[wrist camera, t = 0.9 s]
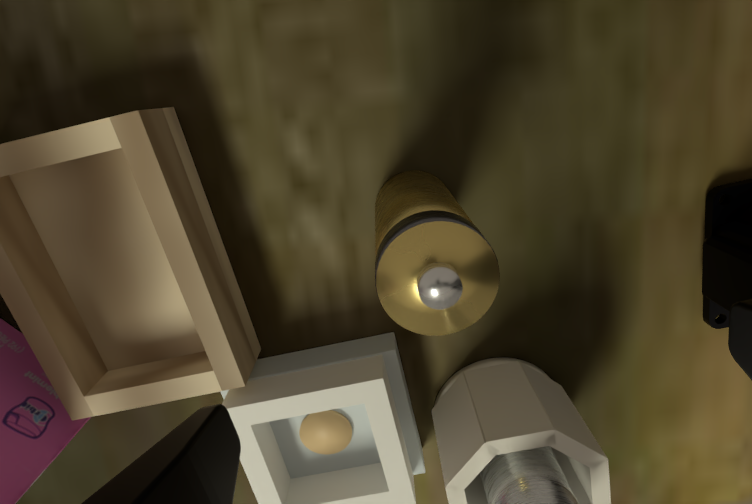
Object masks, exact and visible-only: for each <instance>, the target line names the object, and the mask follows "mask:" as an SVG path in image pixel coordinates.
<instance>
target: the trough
mask: <svg viewBox="0 0 752 504" xmlns="http://www.w3.org/2000/svg"><path fill="white" fill-rule="evenodd" d="M0 294H1V296H2V298H3V299H4V301H5V303H6V305H7V306H8V308H9V310H10V312H11V314H12V315H13V317H14V319H15V321H16V322H17V324H18V326H19V328H20V329H21V331H22V333H23V335H24V337H25V338H26V340H27V342H28V344H29V345H30V347H31V349H32V351H33V352H34V354H35V356H36V358H37V360H38V361H39V363H40V365H41V367H42V368H43V370H44V372H45V374H46V375H47V377H48V379H49V381H50V383H51V384H52V386H53V388H54V390H55V391H56V393H57V395H58V397H59V399H60V400H61V402H62V404H63V406H64V407H65V409H66V411H67V413H68V414H69V416H70V418H71V420H72V421H73V420H78V419H83V418H88V417H93V416H98V415H103V414H108V413H113V412H118V411H123V410H128V409H133V408H139V407H144V406H149V405H154V404H159V403H164V402H169V401H174V400H179V399H184V398H189V397H194V396H199V395H204V394H209V393H214V392H219V391H225V390H230V389H235V388H240V387H245V386H246V384H247V381H248V379H249V377H250V374H251V372H252V370H253V367H254V365H255V363H256V360H257V358H258V356H259V353H260V351H261V347H260V344H259V341H258V338H257V335H256V333H255V330H254V327H253V324H252V322H251V319H250V316H249V313H248V311H247V308H246V305H245V302H244V300H243V297H242V294H241V291H240V289H239V286H238V283H237V280H236V278H235V275H234V272H233V269H232V267H231V264H230V261H229V258H228V255H227V253H226V250H225V247H224V244H223V242H222V239H221V236H220V233H219V231H218V228H217V225H216V222H215V220H214V217H213V214H212V211H211V209H210V206H209V203H208V200H207V198H206V195H205V192H204V189H203V186H202V184H201V181H200V178H199V175H198V173H197V170H196V167H195V164H194V162H193V159H192V156H191V153H190V151H189V148H188V145H187V142H186V140H185V137H184V134H183V131H182V129H181V126H180V123H179V120H178V118H177V115H176V112H175V109H174V107H168V108H157V109H146V110H137V111H133V112H129V113H125V114H121V115H116V116H112V117H108V118H104V119H100V120H96V121H92V122H88V123H84V124H80V125H76V126H72V127H68V128H64V129H60V130H56V131H52V132H48V133H44V134H40V135H35V136H31V137H27V138H23V139H19V140H15V141H11V142H7V143H3V144H0Z"/></svg>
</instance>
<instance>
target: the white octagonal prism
mask: <svg viewBox="0 0 752 504" xmlns="http://www.w3.org/2000/svg"><path fill="white" fill-rule="evenodd" d="M432 417H433V423H434V428H435V434H436V439H437V445H438V450H439V456H440V461H441V467H442V472H443V478H444V483H445V489H446V493H447V497H448V502H449V504H488V502H487V498H486V494H485V491H484V487H483V483H482V480H481V476H480V472H481V471H482V470H483V469H484V467H485V466H486V465H487V464H488V463H489V462H490V461H491V460H492V459H493V458H494V456H495V455H500V454H505V453H511V452H516V451H522V450H528V449H533V448H539V447H544V446H550V447H551V449H552V451H553V453H554V455H555V457H556V459H557V461H558V463H559V465H560V467H561V469H562V471H563V473H564V476H565V478H566V480H567V482H568V484H569V486H570V488H571V490H572V492H573V494H574V496H575V498H576V500H577V502H578V504H611V497H610V482H609V466H608V458H607V457H606V455H605V454H604V452H603V450H602V449H601V447H600V446H599V444H598V443H597V441H596V439H595V438H594V436H593V435H592V433H591V432H590V430H589V428H588V427H587V425H586V424H585V422H584V420H583V419H582V417H581V416H580V414H579V413H578V411H577V409H576V408H575V406H574V405H573V403H572V402H571V400H570V398H569V397H568V395H567V394H566V392H565V391H564V389H563V387H562V386H561V385H560V384H558V383H556V382H554V381H553V380H551V379H550V377H549V376H548V375H547V374H546V373H545V372H544V371H543V370H541V369H540V368H538V367H537V366H535V365H533V364H531V363H529V362H526V361H523V360H520V359H515V358H506V357H501V358H490V359H485V360H481V361H478V362H475V363H472V364H470V365H468V366H466V367H464V368H462V369H461V370H459V371H458V372H456V373H455V374H454V375H453V376H452V377H450V378H449V380H448V381H447V382H446V383H445V384H444V385H443V387H442V388H441V390H440V392H439V394H438V395H437V398H436V401H435V405H434V408H433V409H432Z"/></svg>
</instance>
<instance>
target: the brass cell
mask: <svg viewBox="0 0 752 504" xmlns="http://www.w3.org/2000/svg"><path fill="white" fill-rule="evenodd" d="M375 237H376V262H375V281H376V291H377V295H378V298H379V300H380V302H381V304H382V306H383V308H384V310H385V311H386V313H387V314H388V315H389V316H390V317H391V318H392V319H393V320H394V321H395V322H396V323H397V324H399V325H400V326H402V327H403V328H405V329H407V330H409V331H412V332H415V333H418V334H423V335H431V336H440V335H447V334H452V333H455V332H458V331H461V330H463V329H465V328H467V327H469V326H471V325H472V324H474V323H475V322H476V321H478V320H479V319H480V318H481V317H482V316H483V315H484V314H485V313H486V312H487V310H488V309H489V308H490V306H491V305H492V303H493V301H494V299H495V297H496V294H497V291H498V287H499V279H500V273H499V265H498V261H497V258H496V255H495V253H494V251H493V249H492V247H491V246H490V244H489V243H488V242H487V240H486V239H485V238H484V236H483V235H482V234H481V232H480V231H479V230H478V228H477V227H476V226H475V225H474V224H473V223H472V221H471V220H470V219H469V217H468V216H467V215H466V213H465V212H464V210H463V209H462V208H461V206H460V205H459V204H458V202H457V201H456V200H455V198H454V197H453V196H452V194H451V193H450V192H449V190H448V189H447V188H446V186H445V185H444V184H443V182H442V181H441V180H440V179H438V178H437V177H436V176H434V175H432V174H430V173H427V172H424V171H418V170H411V171H405V172H402V173H399V174H397V175H395V176H393V177H392V178H390V179H389V180H388V181H387V182H386V183H385V184H384V185H383V187H382V188H381V190H380V191H379V193H378V196H377V199H376V203H375Z"/></svg>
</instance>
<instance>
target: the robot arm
mask: <svg viewBox="0 0 752 504" xmlns="http://www.w3.org/2000/svg"><path fill="white" fill-rule="evenodd" d="M722 195H725V197H724V200H723V201H722V202H721V203H719V199H720V197H721V196H722ZM702 294H703V320H704V321H705V322H706V323H707V324H708V325H710V326H711V327H713V328H715V329H721V328H726V327H729V340H728V344H729V350H730V352H731V355H732V356H733V358H734V360H735V361H736V362H737V363H738V364H739V366H740V367H741V368H742V369H743V370H744V372H745V373H746V374H747V375H748V376H749V377H750V379H751V380H752V179H748V180H743V181H739V182H734V183H729V184H725V185H720V186H717V187H714V188H713V189H712V190H711V191H709V193H708V195H707V197H706V212H705V241H704V243H703V274H702ZM719 314H720V316H719V317H718V318H717V319H715V318H716V316H717V315H719ZM240 453H241V444H240V439H239V436H238V434H237V431H236V429H235V426H234V424H233V422H232V419H231V417H230V415H229V412H228V410H227V408H226V407H225V406H224V405H221V404H218V405H213V406H208V407H203V408H200V409H199V410H197V411H196V412H195V413H194V414H192V415H191V416H190V417H189V418H187V419H186V420H185V421H184V422H182V423H181V424H180V425H179V426H177V427H176V428H175V429H174V430H173V431H171V432H170V433H169V434H168V435H166V436H165V437H164V438H163V439H161V440H160V441H159V442H158V443H156V444H155V445H154V446H153V447H151V448H150V449H149V450H148V451H146V452H145V453H144V454H143V455H141V456H140V457H139V458H138V459H136V460H135V461H134V462H133V463H131V464H130V465H129V466H128V467H126V468H125V469H124V470H123V471H121V472H120V473H119V474H118V475H116V476H115V477H114V478H113V479H112V480H110V481H109V482H108V483H107V484H105V485H104V486H103V487H102V488H100V489H99V490H98V491H97V492H95V493H94V494H93V495H92V496H90V497H89V498H88V499H87V500H85V501H84V502H83V503H82V504H232V503H233V497H234V491H235V484H236V478H237V472H238V466H239V459H240Z"/></svg>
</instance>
